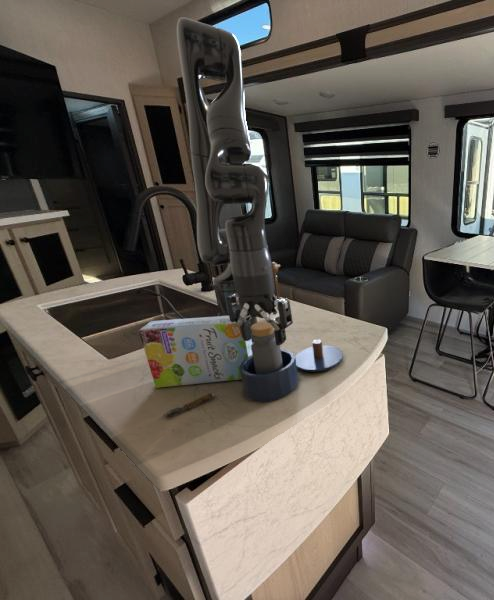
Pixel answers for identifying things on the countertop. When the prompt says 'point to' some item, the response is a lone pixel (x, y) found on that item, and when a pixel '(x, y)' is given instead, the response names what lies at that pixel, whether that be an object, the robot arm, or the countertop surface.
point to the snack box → (194, 350)
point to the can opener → (191, 404)
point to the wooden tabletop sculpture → (275, 269)
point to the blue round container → (269, 379)
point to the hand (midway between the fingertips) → (264, 341)
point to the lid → (318, 357)
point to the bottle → (265, 349)
